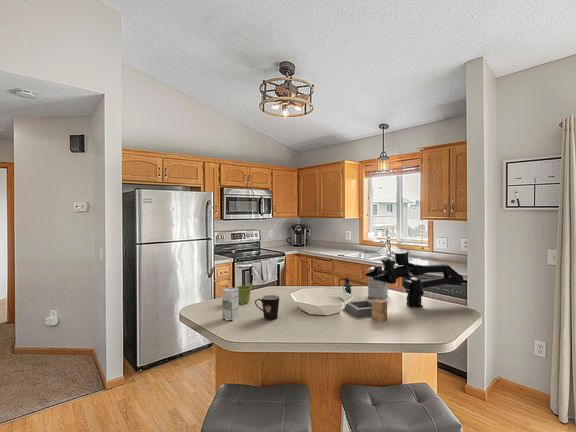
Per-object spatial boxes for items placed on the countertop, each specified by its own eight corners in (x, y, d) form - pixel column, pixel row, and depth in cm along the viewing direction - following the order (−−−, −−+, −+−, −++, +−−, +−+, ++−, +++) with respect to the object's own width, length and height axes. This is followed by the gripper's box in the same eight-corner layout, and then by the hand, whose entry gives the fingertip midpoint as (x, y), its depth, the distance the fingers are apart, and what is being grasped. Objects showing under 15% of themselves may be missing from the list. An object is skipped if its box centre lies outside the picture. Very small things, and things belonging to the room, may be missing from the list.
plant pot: (238, 300, 187) (237, 285, 187) (253, 300, 186) (253, 285, 186) (233, 305, 178) (232, 289, 178) (249, 305, 176) (249, 289, 176)
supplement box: (383, 299, 186) (383, 269, 185) (367, 297, 191) (367, 268, 190) (388, 295, 194) (387, 267, 193) (373, 293, 199) (372, 266, 199)
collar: (368, 306, 172) (368, 299, 172) (383, 314, 159) (383, 306, 159) (344, 308, 168) (344, 302, 168) (357, 317, 155) (357, 309, 155)
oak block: (377, 317, 153) (377, 298, 153) (387, 320, 150) (387, 301, 150) (371, 320, 150) (371, 301, 150) (381, 322, 146) (381, 303, 146)
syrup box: (239, 317, 156) (238, 287, 156) (232, 321, 150) (231, 290, 150) (229, 316, 158) (229, 286, 158) (222, 320, 153) (221, 289, 153)
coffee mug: (283, 317, 155) (283, 296, 155) (270, 322, 149) (270, 300, 149) (266, 312, 163) (266, 293, 163) (253, 316, 157) (253, 296, 157)
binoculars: (333, 278, 198) (349, 276, 198) (335, 295, 198) (351, 293, 198) (335, 281, 189) (352, 279, 189) (337, 299, 189) (354, 297, 189)
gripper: (387, 254, 179) (360, 258, 177) (405, 259, 161) (375, 264, 158) (389, 274, 180) (362, 278, 177) (407, 281, 161) (378, 286, 159)
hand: (369, 276), depth 168 cm, fingers open, 9 cm apart
